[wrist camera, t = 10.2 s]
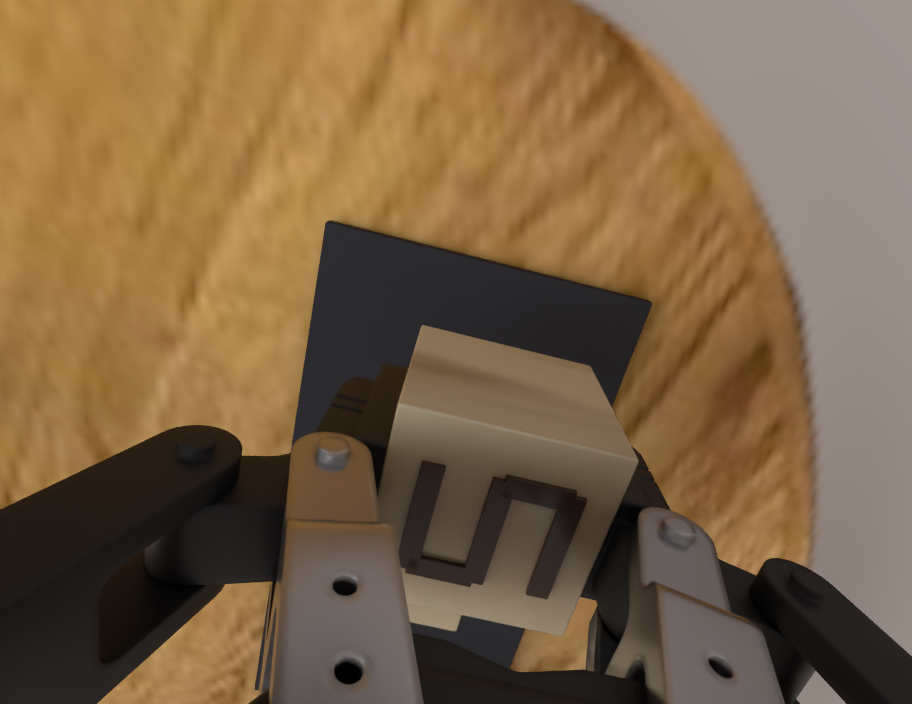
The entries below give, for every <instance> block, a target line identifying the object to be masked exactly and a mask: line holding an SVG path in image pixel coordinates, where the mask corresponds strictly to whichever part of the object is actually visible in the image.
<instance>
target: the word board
mask: <svg viewBox="0 0 912 704" xmlns="http://www.w3.org/2000/svg"><path fill="white" fill-rule="evenodd" d="M651 306H652V303H651V302H650V301H648V300H644V299H640V298H636V297H632V296H628V295H624V294H620V293H616V292H612V291H608V290H604V289H600V288H596V287H592V286H588V285H584V284H580V283H576V282H572V281H569V280H565V279H561V278H557V277H553V276H549V275H545V274H541V273H537V272H533V271H529V270H525V269H521V268H517V267H513V266H509V265H505V264H501V263H497V262H493V261H489V260H485V259H481V258H477V257H473V256H469V255H465V254H461V253H457V252H453V251H449V250H445V249H441V248H437V247H433V246H429V245H425V244H421V243H417V242H413V241H409V240H405V239H401V238H397V237H393V236H389V235H385V234H381V233H377V232H373V231H369V230H365V229H361V228H357V227H353V226H349V225H345V224H341V223H337V222H333V221H327V222H326V225H325V231H324V238H323V244H322V251H321V257H320V264H319V271H318V277H317V284H316V290H315V297H314V303H313V310H312V316H311V323H310V330H309V336H308V343H307V349H306V356H305V362H304V369H303V375H302V382H301V389H300V395H299V402H298V408H297V415H296V421H295V428H294V434H293V441H292V446H293V445H294V443H295V442H296V441H297V440H298V439H300V438H301V437H303V436H305V435H308V434H311V433H315V432H316V430H317V428H318V427H319V425H320V423H321V421H322V419H323V418H324V416H325V414H326V412H327V410H328V409H329V407H330V406H331V403H332V401H333V400H334V398H335V397H336V394H337V392H338V391H339V389H340V387H341V385H342V384H343V383H344V382H346V381H348V380H350V379H352V378H354V377H356V376H357V377H362V378H366V379H370V380H374V381H376V379H377V376H378V374H379V372H380V369H381V367H382V365H383V362H386V363H390V364H394V365H398V366H403V367H407V368H409V365H410V361H411V358H412V355H413V351H414V348H415V345H416V342H417V338H418V335H419V332H420V328H421V326H422V325H425V326H429V327H433V328H437V329H441V330H446V331H450V332H454V333H458V334H462V335H466V336H470V337H474V338H478V339H482V340H486V341H490V342H495V343H499V344H503V345H507V346H511V347H515V348H519V349H523V350H527V351H531V352H535V353H539V354H544V355H548V356H552V357H556V358H560V359H564V360H568V361H572V362H576V363H580V364H584V365H588V366H590V367H591V368H592V370H593V372H594V374H595V376H596V378H597V380H598V382H599V384H600V386H601V388H602V390H603V392H604V394H605V396H606V397H607V399H608V401H609V403H610V405H611V407H612V405H613V402H614V400H615V397H616V395H617V392H618V390H619V387H620V385H621V382H622V380H623V377H624V374H625V372H626V369H627V367H628V364H629V362H630V359H631V357H632V354H633V352H634V349H635V346H636V344H637V341H638V339H639V336H640V334H641V331H642V329H643V326H644V324H645V321H646V318H647V316H648V313H649V311H650V308H651ZM291 450H292V448H291ZM270 590H271V585H270ZM269 599H270V592H269V598H268V605H267V611H266V618H265V625H264V631H263V638H262V644H261V651H260V657H259V664H258V671H257V677H256V684H255V690H259V685H260V678H261V671H262V663H263V654H264V645H265V636H266V626H267V617H268V608H269ZM410 625H411V631H412V633H414V634H419V635H424V636H428V637H433V638H438V639H442V640H447V641H449V642H451V643H453V644H455V645H457V646H460V647H462V648H464V649H466V650H468V651H471V652H473V653H475V654H477V655H479V656H482V657H484V658H486V659H488V660H490V661H493V662H495V663H497V664H499V665H501V666H503V667H506V668H508V669H509V667H510V665H511V662H512V660H513V657H514V655H515V652H516V649H517V647H518V644H519V642H520V639H521V637H522V634H523V632H524V629H525V628H520V627H515V626H511V625H506V624H502V623H497V622H492V621H488V620H483V619H478V618H474V617H469V616H465V615H462V616H461V619H460V622H459V625H458V628H457V630H456V631H450V630H445V629H440V628H436V627H431V626H426V625H421V624H416V623H412V622H410Z"/></svg>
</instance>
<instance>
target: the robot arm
mask: <svg viewBox="0 0 912 704" xmlns="http://www.w3.org/2000/svg"><path fill="white" fill-rule="evenodd" d="M407 371H408V368H407V367H403V366H398V365H394V364H390V363H386V362H383V365H382V367H381V369H380V372H379V374H378V376H377V379H376V381H374V380H370V379H366V378H362V377H357V376H356V377H354V378H352V379H350V380H348V381H346V382H344V383H343V384H342V385H341V387H340V389H339V391H338V392H337V394H336V397H335V398H334V400H333V401H332V403H331V406H330V407H329V409H328V410H327V412H326V414H325V416H324V418H323V419H322V421H321V423H320V425H319V427H318V428H317V430H316V432H315V433H311V434H308V435H305V436H303V437H301V438H300V439H298V440H297V441H296V442H295V443H294V445H293V446H292V450H291V453H289V454H285V455H280V456H241V455H242V445H241V443H240V441H239V440H238V438H237V437H235V436H234V435H233V434H231V433H229V432H228V431H225V430H223V429H220V428H216V427H211V426H202V425H190V426H182V427H176V428H173V429H169V430H167V431H164V432H162V433H160V434H158V435H156V436H154V437H152V438H149V439H147V440H145V441H143V442H141V443H139V444H137V445H135V446H133V447H131V448H129V449H126V450H124V451H122V452H120V453H118V454H116V455H114V456H112V457H110V458H108V459H106V460H103V461H101V462H99V463H97V464H95V465H93V466H91V467H89V468H87V469H85V470H83V471H80V472H78V473H76V474H74V475H72V476H70V477H68V478H66V479H64V480H62V481H60V482H57V483H55V484H53V485H51V486H49V487H47V488H45V489H43V490H41V491H39V492H37V493H34V494H32V495H30V496H28V497H26V498H24V499H22V500H20V501H18V502H16V503H13V504H11V505H9V506H7V507H5V508H3V509H1V510H0V704H97V703H98V702H99V701H100V700H101V699H102V698H103V697H105V696H106V695H107V694H108V693H109V692H110V691H111V690H112V689H113V688H115V687H116V686H117V685H118V684H119V683H120V682H121V681H122V680H123V679H124V678H126V677H127V676H128V675H129V674H130V673H131V672H132V671H133V670H134V669H136V668H137V667H138V666H139V665H140V664H141V663H142V662H143V661H144V660H146V659H147V658H148V657H149V656H150V655H151V654H152V653H153V652H154V651H156V650H157V649H158V648H159V647H160V646H161V645H162V644H163V643H164V642H165V641H167V640H168V639H169V638H170V637H171V636H172V635H173V634H174V633H175V632H177V631H178V630H179V629H180V628H181V627H182V626H183V625H184V624H185V623H187V622H188V621H189V620H190V619H191V618H192V617H193V616H194V615H195V614H197V613H198V612H199V611H200V610H201V609H202V608H203V607H204V606H205V605H206V604H208V603H209V602H210V601H211V600H212V599H213V598H214V597H215V596H216V595H217V594H218V593H219V592H220V591H221V590H222V588H223V587H224V585H225V584H233V583H250V582H268V581H271V590H270V599H269V608H268V617H267V626H266V636H265V645H264V654H263V663H262V671H261V678H260V685H259V693H258V697H257V698H255V699H254V700H253V701H251V702H250V703H249V704H800V703H799V702H798V701H797V700H796V698H797V696H798V695H799V693H800V692H801V691H802V689H803V688H804V686H805V685H806V683H807V682H808V681H809V679H810V678H811V676H812V675H813V673H814V672H815V670H816V671H817V672H818V673H819V674H820V675H821V677H822V678H823V679H824V680H825V681H826V682H827V683H828V684H829V685H830V686H831V687H832V688H833V690H834V691H835V692H836V693H837V694H838V695H839V696H840V697H841V698H842V699H843V700H844V701H845V703H846V704H912V656H911V655H909V654H908V653H907V652H906V651H905V650H904V649H903V648H902V647H900V646H899V645H898V644H897V643H896V642H895V641H894V640H893V639H892V638H891V637H889V636H888V635H887V634H886V633H885V632H884V631H883V630H881V629H880V628H879V627H878V626H877V625H876V624H875V623H873V621H871V620H870V619H869V618H868V617H867V616H866V615H865V614H864V613H862V611H860V610H859V609H858V608H857V607H856V606H855V605H854V604H853V603H851V602H850V601H849V600H848V599H847V598H846V597H845V596H844V595H842V594H841V593H840V592H839V591H838V590H837V589H836V588H835V587H834V586H832V585H831V584H830V583H829V582H828V581H826V580H825V579H824V578H822V577H821V576H819V575H818V574H816V573H815V572H813V571H811V570H809V569H808V568H806V567H804V566H802V565H799V564H797V563H794V562H792V561H789V560H785V559H780V558H772V559H768V560H766V561H765V562H764V564H763V565H762V567H761V569H760V571H759V572H758V574H757V576H756V575H754V574H751V573H749V572H747V571H744V570H742V569H740V568H738V567H735V566H733V565H731V564H728V563H726V562H724V561H722V560H720V559H718V557H717V553H716V549H715V546H714V543H713V541H712V540H711V538H710V537H709V536H708V534H707V533H706V532H705V531H704V530H703V529H702V528H700V527H699V526H698V525H697V524H695V523H694V522H693V521H691V520H690V519H688V518H686V517H684V516H682V515H680V514H678V513H676V512H674V511H671V510H670V508H669V506H668V504H667V502H666V501H665V499H664V497H663V495H662V493H661V491H660V489H659V487H658V486H657V484H656V483H655V482H654V478H653V476H652V474H651V472H650V471H648V467H647V465H646V463H645V461H644V459H643V457H642V455H641V454H640V453H639V452H638V451H637V450H636V449H634V448H633V447H632V448H633V450H634V452H635V454H636V456H637V458H638V464H637V466H636V469H635V471H634V473H633V476H632V478H631V480H630V483H629V485H628V487H627V489H626V492H625V494H624V496H623V499H622V501H621V503H620V506H619V508H618V510H617V512H616V515H615V517H614V519H613V522H612V524H611V526H610V529H609V531H608V533H607V536H606V538H605V540H604V542H603V545H602V547H601V549H600V552H599V554H598V556H597V559H596V561H595V563H594V565H593V568H592V570H591V572H590V575H589V577H588V579H587V582H586V584H585V586H584V589H583V591H582V593H581V595H580V597H583V598H588V599H592V600H596V601H597V605H598V606H597V608H596V610H595V612H594V614H593V617H592V619H591V621H590V625H589V634H588V647H587V660H586V670H568V671H545V672H516V671H513V670H510V669H508V668H506V667H503V666H501V665H499V664H497V663H495V662H493V661H490V660H488V659H486V658H484V657H482V656H479V655H477V654H475V653H473V652H471V651H468V650H466V649H464V648H462V647H460V646H457V645H455V644H453V643H451V642H449V641H447V640H442V639H438V638H433V637H428V636H424V635H419V634H414V633H412V631H411V625H410V619H409V613H408V607H407V601H406V595H405V589H404V583H403V577H402V571H401V565H400V559H399V553H398V547H397V541H396V535H395V530H394V526H393V524H392V523H391V522H381V521H380V513H379V506H378V499H377V491H378V486H379V482H380V478H381V473H382V469H383V464H384V460H385V456H386V451H387V447H388V443H389V438H390V434H391V430H392V425H393V421H394V417H395V412H396V408H397V404H398V401H399V397H400V394H401V391H402V388H403V384H404V381H405V378H406V374H407Z"/></svg>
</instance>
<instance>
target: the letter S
mask: <svg viewBox="0 0 912 704" xmlns="http://www.w3.org/2000/svg"><path fill="white" fill-rule="evenodd" d="M637 464H638V458H637V456H636V454H635V452H634V450H633V448H632V446H631V444H630V442H629V440H628V438H627V436H626V434H625V433H624V431H623V429H622V427H621V425H620V423H619V421H618V419H617V417H616V415H615V413H614V411H613V409H612V407H611V405H610V403H609V401H608V399H607V397H606V396H605V394H604V392H603V390H602V388H601V386H600V384H599V382H598V380H597V378H596V376H595V374H594V372H593V370H592V368H591V367H590V366H588V365H584V364H580V363H576V362H572V361H568V360H564V359H560V358H556V357H552V356H548V355H544V354H539V353H535V352H531V351H527V350H523V349H519V348H515V347H511V346H507V345H503V344H499V343H495V342H490V341H486V340H482V339H478V338H474V337H470V336H466V335H462V334H458V333H454V332H450V331H446V330H441V329H437V328H433V327H429V326H425V325H422V326H421V328H420V332H419V335H418V338H417V342H416V345H415V348H414V351H413V355H412V358H411V361H410V365H409V368H408V371H407V374H406V378H405V381H404V384H403V388H402V391H401V394H400V397H399V401H398V404H397V408H396V412H395V417H394V421H393V425H392V430H391V434H390V438H389V443H388V447H387V451H386V456H385V460H384V464H383V469H382V473H381V478H380V482H379V486H378V491H377V499H378V506H379V513H380V521H381V522H391V523H392V524H393V526H394V530H395V535H396V541H397V547H398V553H399V559H400V565H401V571H402V577H403V583H404V589H405V595H406V601H407V603H409V604H414V605H418V606H423V607H428V608H432V609H437V610H441V611H446V612H451V613H455V614H460V615H465V616H469V617H474V618H478V619H483V620H488V621H492V622H497V623H502V624H506V625H511V626H515V627H520V628H525V629H529V630H534V631H539V632H543V633H548V634H553V635H557V636H563V635H564V632H565V630H566V628H567V625H568V623H569V621H570V618H571V616H572V614H573V612H574V609H575V607H576V605H577V602H578V600H579V598H580V595H581V593H582V591H583V589H584V586H585V584H586V582H587V579H588V577H589V575H590V572H591V570H592V568H593V565H594V563H595V561H596V559H597V556H598V554H599V552H600V549H601V547H602V545H603V542H604V540H605V538H606V536H607V533H608V531H609V529H610V526H611V524H612V522H613V519H614V517H615V515H616V512H617V510H618V508H619V506H620V503H621V501H622V499H623V496H624V494H625V492H626V489H627V487H628V485H629V483H630V480H631V478H632V476H633V473H634V471H635V469H636V466H637Z"/></svg>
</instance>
